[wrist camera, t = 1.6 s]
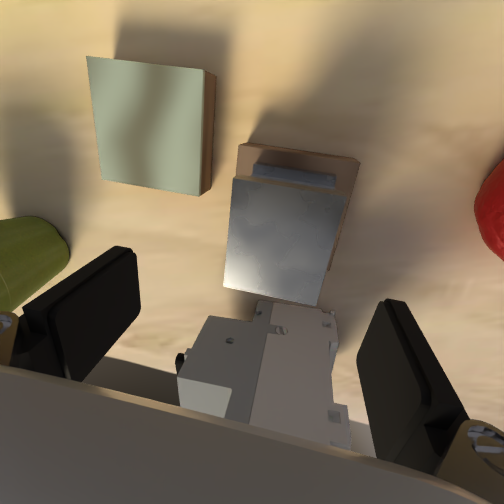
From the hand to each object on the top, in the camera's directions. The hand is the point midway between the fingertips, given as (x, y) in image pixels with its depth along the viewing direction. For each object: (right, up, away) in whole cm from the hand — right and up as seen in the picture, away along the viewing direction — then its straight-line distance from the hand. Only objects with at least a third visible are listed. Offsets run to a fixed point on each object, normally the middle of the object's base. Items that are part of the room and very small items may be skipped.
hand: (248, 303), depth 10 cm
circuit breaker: (+2, -7, +21) cm, 22 cm away
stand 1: (-8, +13, +14) cm, 20 cm away
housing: (+3, +5, +11) cm, 13 cm away
